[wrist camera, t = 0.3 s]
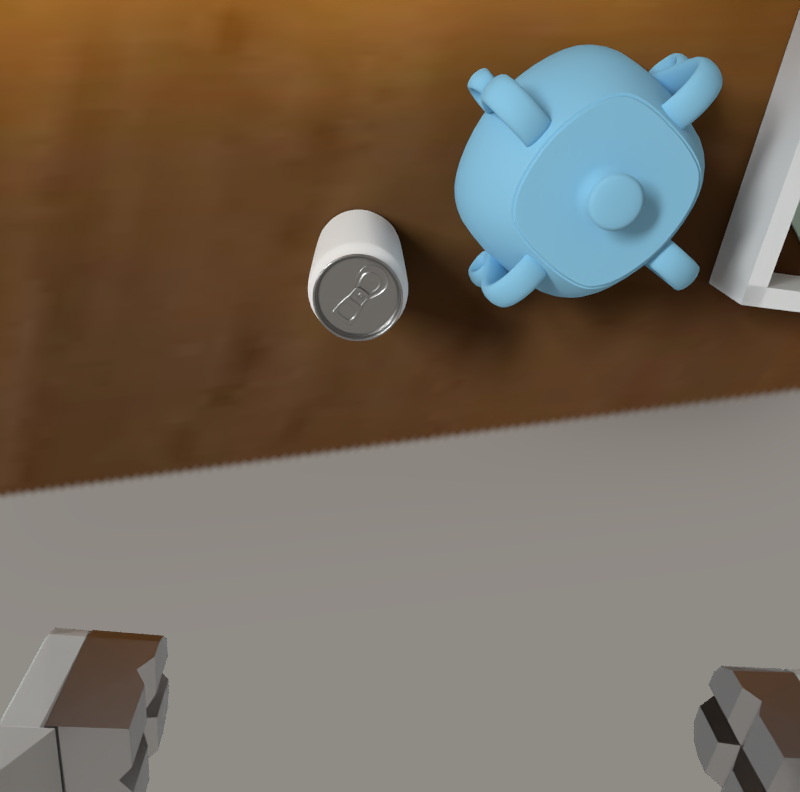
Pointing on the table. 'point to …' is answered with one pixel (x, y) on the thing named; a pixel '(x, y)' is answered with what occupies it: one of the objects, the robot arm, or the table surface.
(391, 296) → the can
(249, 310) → the table surface
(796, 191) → the white l-shaped bracket
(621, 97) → the decorative pot
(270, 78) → the table surface
